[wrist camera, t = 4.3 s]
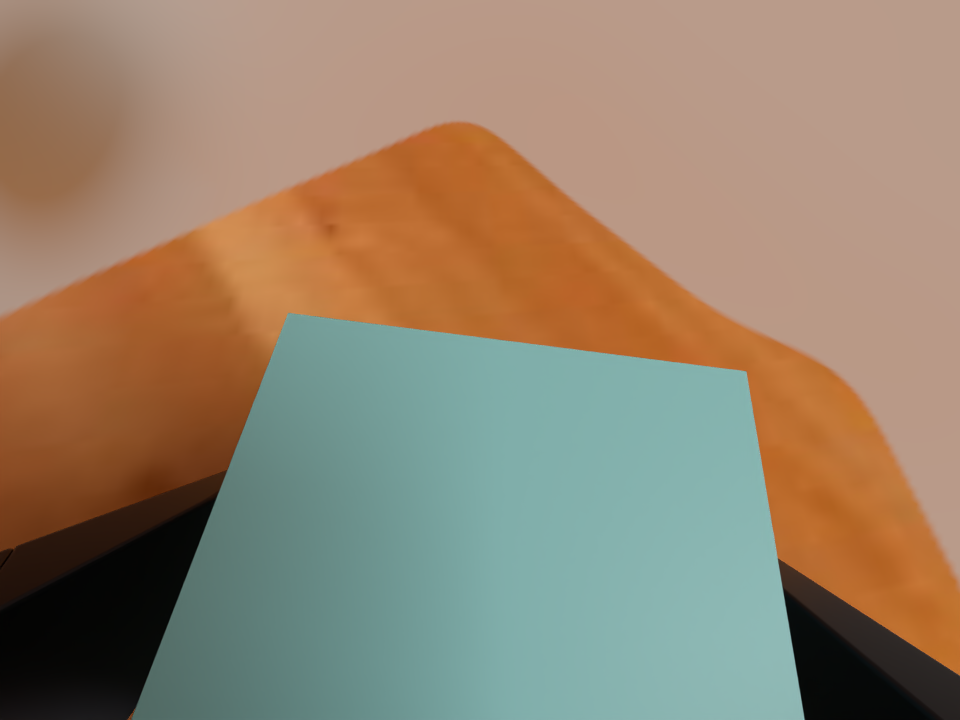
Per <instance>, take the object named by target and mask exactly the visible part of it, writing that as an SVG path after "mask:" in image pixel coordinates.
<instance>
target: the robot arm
mask: <svg viewBox="0 0 960 720" xmlns="http://www.w3.org/2000/svg"><path fill="white" fill-rule="evenodd" d="M226 473H227V470H226V471H224V472H221V473H218V474H215V475H212V476H210V477H207V478H204V479H201V480H199V481H196V482H193V483H190V484H187V485H185V486H182V487H179V488H176V489H174V490H171V491H168V492H165V493H162V494H160V495H157V496H154V497H151V498H149V499H146V500H143V501H140V502H137V503H135V504H132V505H129V506H126V507H124V508H121V509H118V510H115V511H112V512H110V513H107V514H104V515H101V516H99V517H96V518H93V519H90V520H87V521H85V522H82V523H79V524H76V525H74V526H71V527H68V528H65V529H62V530H60V531H57V532H54V533H51V534H49V535H46V536H43V537H40V538H37V539H35V540H32V541H29V542H26V543H24V544H21V545H18V546H16V547H15V549H14V550H13V549H11V548H10V549H6V550H4V551H1V552H0V720H127V719H128V718H129V716H130V715H131V713H132V712H133V710H134V709H135V708H136V706H137V704H138V701H139V698H140V696H141V693H142V691H143V688H144V685H145V683H146V680H147V678H148V675H149V672H150V670H151V667H152V665H153V662H154V659H155V657H156V654H157V652H158V649H159V647H160V644H161V641H162V639H163V636H164V634H165V631H166V628H167V626H168V623H169V621H170V618H171V615H172V613H173V610H174V608H175V605H176V603H177V600H178V597H179V595H180V592H181V590H182V587H183V584H184V582H185V579H186V577H187V574H188V571H189V569H190V566H191V564H192V561H193V558H194V556H195V553H196V551H197V548H198V546H199V543H200V540H201V538H202V535H203V533H204V530H205V527H206V525H207V522H208V520H209V517H210V514H211V512H212V509H213V507H214V504H215V502H216V499H217V496H218V494H219V491H220V489H221V486H222V483H223V481H224V478H225V476H226ZM778 564H779V570H780V576H781V582H782V588H783V594H784V600H785V606H786V612H787V618H788V624H789V630H790V636H791V641H792V647H793V653H794V659H795V665H796V671H797V677H798V683H799V689H800V695H801V701H802V707H803V713H804V719H805V720H960V676H959V675H958V674H956V673H955V672H953V671H952V670H950V669H948V668H947V667H945V666H944V665H942V664H941V663H939V662H938V661H936V660H934V659H933V658H931V657H930V656H928V655H927V654H925V653H924V652H922V651H921V650H919V649H917V648H916V647H914V646H913V645H911V644H910V643H908V642H907V641H905V640H904V639H902V638H900V637H899V636H897V635H896V634H894V633H893V632H891V631H890V630H888V629H886V628H885V627H883V626H882V625H880V624H879V623H877V622H876V621H874V620H873V619H871V618H869V617H868V616H866V615H865V614H863V613H862V612H860V611H859V610H857V609H855V608H854V607H852V606H851V605H849V604H848V603H846V602H845V601H843V600H842V599H840V598H838V597H837V596H835V595H834V594H832V593H831V592H829V591H828V590H826V589H825V588H823V587H821V586H820V585H818V584H817V583H815V582H814V581H812V580H811V579H809V578H807V577H806V576H804V575H803V574H801V573H800V572H798V571H797V570H795V569H794V568H792V567H790V566H789V565H787V564H786V563H784V562H783V561H781V560H780V559H778Z"/></svg>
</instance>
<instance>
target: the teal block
mask: <svg viewBox="0 0 960 720" xmlns="http://www.w3.org/2000/svg"><path fill="white" fill-rule="evenodd" d="M131 720H805V719H804V713H803V707H802V701H801V695H800V689H799V683H798V677H797V671H796V665H795V659H794V653H793V647H792V641H791V636H790V630H789V624H788V618H787V612H786V606H785V600H784V594H783V588H782V582H781V576H780V570H779V564H778V558H777V552H776V546H775V540H774V534H773V528H772V522H771V516H770V510H769V504H768V499H767V493H766V487H765V481H764V475H763V469H762V463H761V457H760V451H759V445H758V439H757V433H756V427H755V421H754V415H753V409H752V403H751V397H750V391H749V385H748V379H747V373H746V371H739V370H731V369H723V368H715V367H708V366H700V365H692V364H684V363H676V362H668V361H661V360H653V359H645V358H637V357H629V356H621V355H614V354H606V353H598V352H590V351H582V350H574V349H566V348H559V347H551V346H543V345H535V344H527V343H519V342H512V341H504V340H496V339H488V338H480V337H472V336H465V335H457V334H449V333H441V332H433V331H425V330H418V329H410V328H402V327H394V326H386V325H378V324H370V323H363V322H355V321H347V320H339V319H331V318H323V317H316V316H308V315H300V314H292V313H288V315H287V318H286V320H285V323H284V325H283V328H282V331H281V333H280V336H279V338H278V341H277V344H276V346H275V349H274V351H273V354H272V356H271V359H270V362H269V364H268V367H267V369H266V372H265V375H264V377H263V380H262V382H261V385H260V388H259V390H258V393H257V395H256V398H255V401H254V403H253V406H252V408H251V411H250V413H249V416H248V419H247V421H246V424H245V426H244V429H243V432H242V434H241V437H240V439H239V442H238V445H237V447H236V450H235V452H234V455H233V457H232V460H231V463H230V465H229V468H228V470H227V473H226V476H225V478H224V481H223V483H222V486H221V489H220V491H219V494H218V496H217V499H216V502H215V504H214V507H213V509H212V512H211V514H210V517H209V520H208V522H207V525H206V527H205V530H204V533H203V535H202V538H201V540H200V543H199V546H198V548H197V551H196V553H195V556H194V558H193V561H192V564H191V566H190V569H189V571H188V574H187V577H186V579H185V582H184V584H183V587H182V590H181V592H180V595H179V597H178V600H177V603H176V605H175V608H174V610H173V613H172V615H171V618H170V621H169V623H168V626H167V628H166V631H165V634H164V636H163V639H162V641H161V644H160V647H159V649H158V652H157V654H156V657H155V659H154V662H153V665H152V667H151V670H150V672H149V675H148V678H147V680H146V683H145V685H144V688H143V691H142V693H141V696H140V698H139V701H138V704H137V706H136V709H135V711H134V714H133V716H132V719H131Z"/></svg>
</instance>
